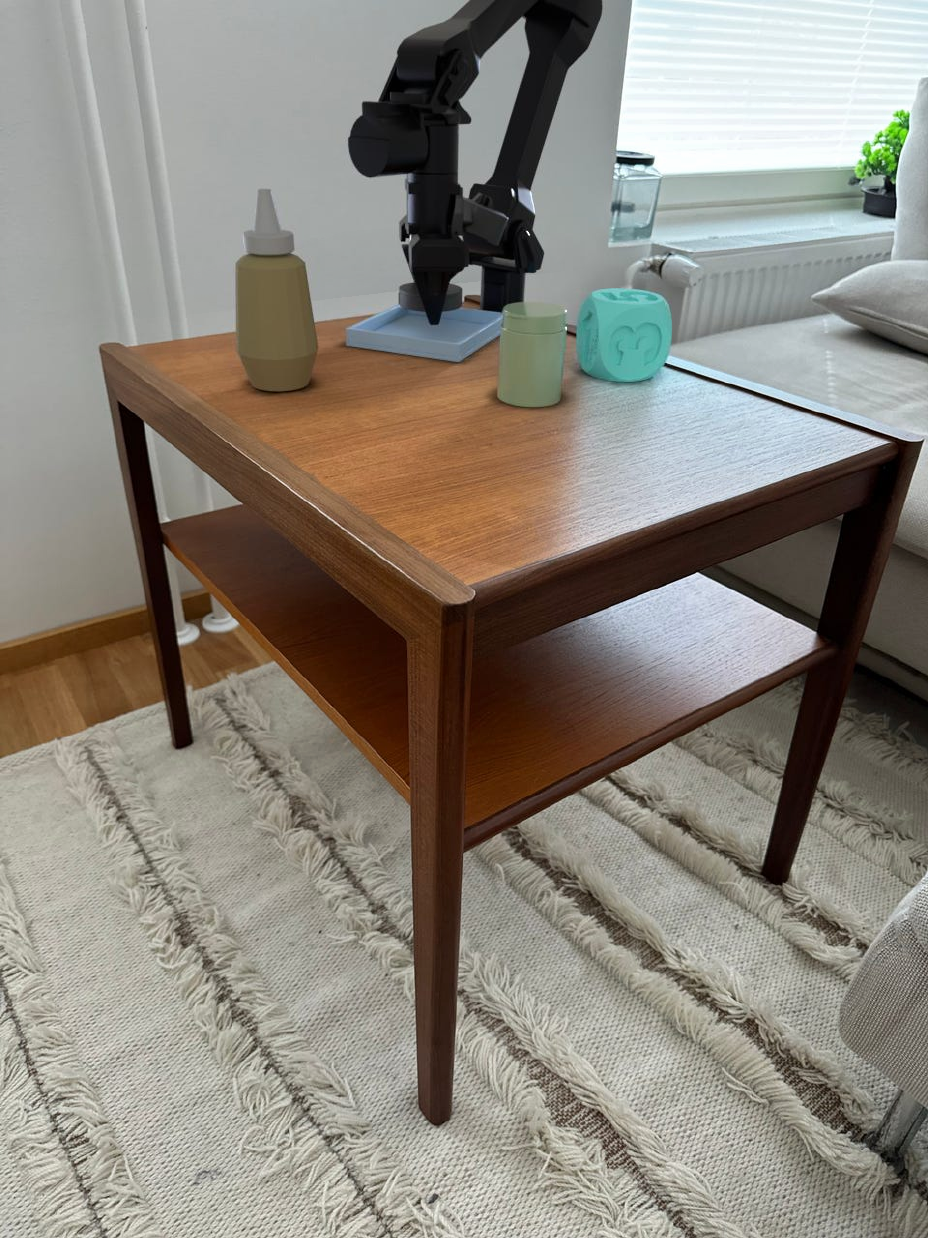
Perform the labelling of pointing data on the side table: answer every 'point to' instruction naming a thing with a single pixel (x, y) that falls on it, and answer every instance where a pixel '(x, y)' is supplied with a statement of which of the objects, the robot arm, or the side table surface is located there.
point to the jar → (531, 354)
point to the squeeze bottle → (273, 305)
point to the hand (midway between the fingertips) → (430, 316)
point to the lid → (412, 301)
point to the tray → (426, 332)
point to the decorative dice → (623, 334)
